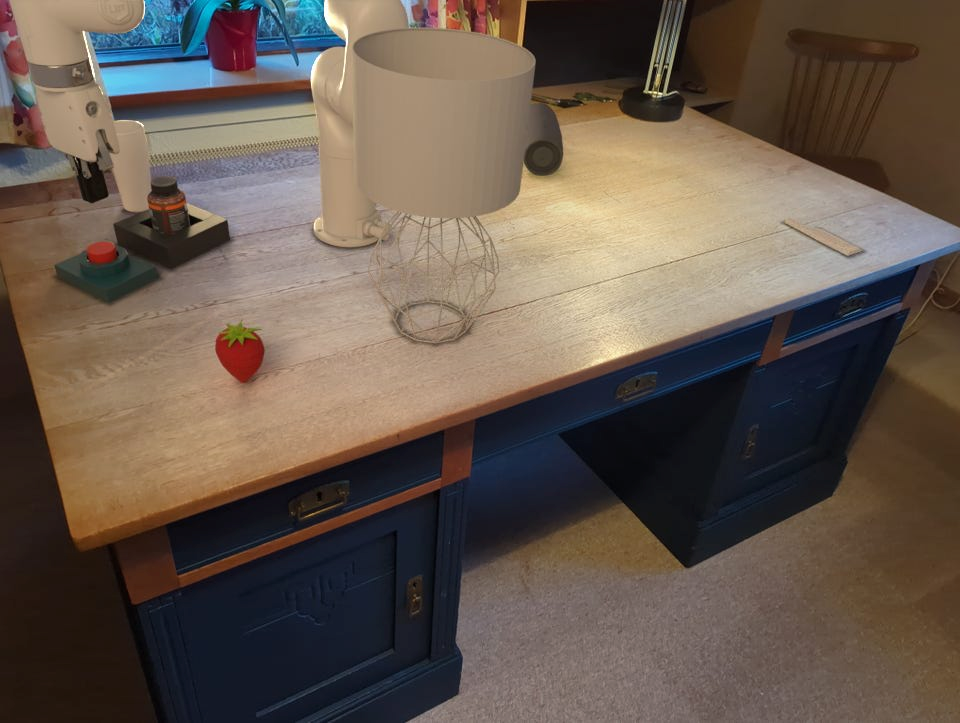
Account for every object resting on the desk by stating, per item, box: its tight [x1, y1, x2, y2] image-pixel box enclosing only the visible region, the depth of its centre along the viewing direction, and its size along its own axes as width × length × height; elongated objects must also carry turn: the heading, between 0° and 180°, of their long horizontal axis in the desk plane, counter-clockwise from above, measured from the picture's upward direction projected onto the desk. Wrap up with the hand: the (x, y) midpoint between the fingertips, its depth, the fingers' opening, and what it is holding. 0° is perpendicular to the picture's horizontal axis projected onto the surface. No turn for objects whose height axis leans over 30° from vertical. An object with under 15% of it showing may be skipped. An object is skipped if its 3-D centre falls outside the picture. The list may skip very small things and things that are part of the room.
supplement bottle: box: [147, 175, 191, 236], centre depth 126 cm, size 6×6×11 cm
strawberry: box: [214, 317, 265, 384], centre depth 99 cm, size 6×8×10 cm
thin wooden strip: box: [784, 217, 864, 257], centre depth 151 cm, size 5×15×1 cm, turn 33°
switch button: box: [86, 241, 117, 263], centre depth 117 cm, size 4×4×2 cm
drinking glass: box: [109, 119, 152, 213], centre depth 134 cm, size 7×7×15 cm
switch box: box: [53, 244, 159, 304], centre depth 118 cm, size 12×9×4 cm
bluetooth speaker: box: [523, 102, 564, 177], centre depth 168 cm, size 23×9×10 cm, turn 179°
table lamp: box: [352, 27, 536, 344], centre depth 105 cm, size 22×22×40 cm
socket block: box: [112, 202, 231, 270], centre depth 129 cm, size 13×13×4 cm
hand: (96, 198), depth 112 cm, fingers closed
